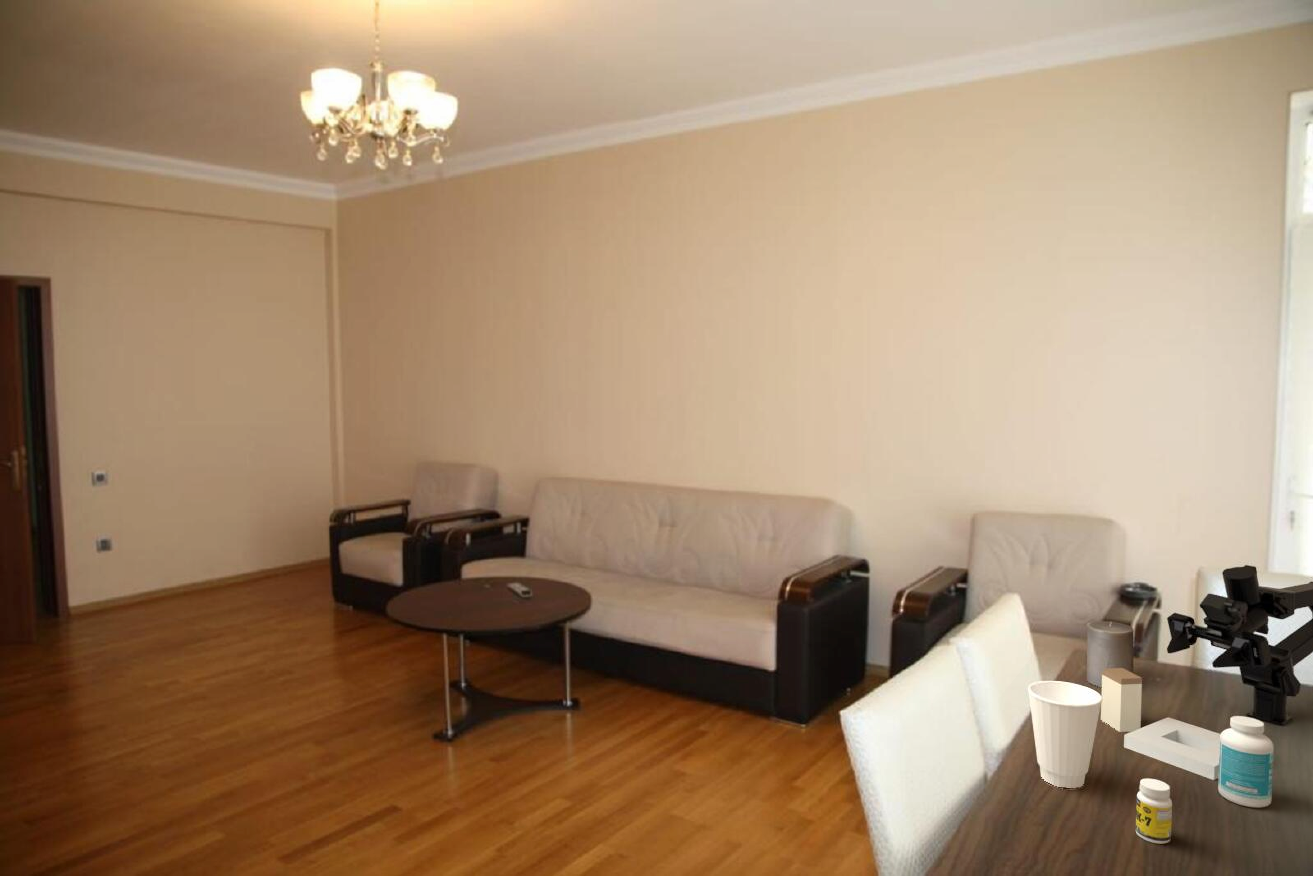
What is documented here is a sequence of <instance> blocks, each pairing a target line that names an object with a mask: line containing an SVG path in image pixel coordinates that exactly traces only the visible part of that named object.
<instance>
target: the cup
mask: <svg viewBox="0 0 1313 876" xmlns="http://www.w3.org/2000/svg"><path fill="white" fill-rule="evenodd" d="M1027 692H1028V695H1029V696H1028V697H1029V704H1030V712H1031V721H1032V729H1033V736H1034V744H1035V752H1036V753H1035V754H1036V760H1037V761H1036V762H1037V764H1038V766H1039V771H1040V777H1042V778H1041V780H1042V779H1044V781H1046V782H1048V783H1050V784H1052V785H1054V786H1053V787H1055V786H1057V787H1056V788H1058V787H1066V788H1076V787H1081V786H1083V787H1084V785H1085V778H1086V774H1087V773H1088V772H1089V768H1090V762H1091V757H1092V753H1093V747H1094V741H1095V739H1096V738H1095V737H1096V733H1097V731H1096V730H1097V726H1098V721H1099V717H1100V713H1101V702H1102V697H1101V695H1102V694H1101V693H1099V692H1097V691H1096V690H1094V689H1092V688H1090V687H1087V686H1083V685H1081V684H1076V683H1073V682H1067V681H1058V680H1041V681H1035V682H1033V683H1031V684H1029V686H1028V687H1027ZM1044 781H1043V782H1044ZM1046 782H1045V783H1046ZM1048 783H1047V784H1048ZM1050 784H1049V785H1050ZM1083 784H1084V785H1083ZM1052 785H1051V786H1052ZM1081 788H1082V787H1081Z"/></svg>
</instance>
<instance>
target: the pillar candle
mask: <svg viewBox="0 0 1313 876" xmlns="http://www.w3.org/2000/svg"><path fill="white" fill-rule="evenodd" d="M1086 626H1087V632H1086V633H1087V636H1086V637H1087V638H1086V639H1087V641H1086V642H1087V643H1086V682H1087V681H1088V682H1089V683H1088V682H1087V683H1088V684H1090V683H1091V684H1090V685H1093V686H1095V685H1096V686H1095V687H1097V686H1098V687H1097V688H1099V687H1102V669H1111V668H1123V669H1125V670H1127V671H1129V672H1131V673H1133V674H1134V653H1135V652H1134V645H1135V644H1134V641H1135V640H1134V639H1135V637H1134V632H1135V631H1134V630H1135V629H1134V628H1133V627H1132V626H1130V625H1128V624H1125V623H1121V622H1116V621H1109V620H1108V621H1105V620H1097V621H1090V622H1088V623H1086Z"/></svg>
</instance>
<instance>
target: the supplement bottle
mask: <svg viewBox="0 0 1313 876" xmlns="http://www.w3.org/2000/svg"><path fill="white" fill-rule="evenodd" d="M1138 789H1139V791H1138V792H1137V794H1136V804H1135V805H1136V808H1135V809H1136V810H1135V832H1136V835H1137V836H1138V837H1140V838H1141V839H1143V840H1145V841H1147V842H1149V843H1153V844H1161V845H1162V844H1163V845H1164V844H1167V843H1169V842H1170V841H1171V838H1172V819H1173V818H1172V817H1173V816H1172V815H1173V801H1172V799H1171V797H1170V796H1171V787H1170V784H1167V783H1166V782H1164V781H1162V780H1159V779H1154V778H1142V779H1140V782H1139V788H1138Z"/></svg>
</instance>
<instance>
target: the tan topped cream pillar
mask: <svg viewBox="0 0 1313 876" xmlns="http://www.w3.org/2000/svg"><path fill="white" fill-rule="evenodd" d="M1142 690H1143V677H1141V676H1140V675H1137V674H1136V673H1134V672H1133V673H1131V672H1129V671H1127V670H1125V669H1123V668H1111V669H1102V688H1101V694H1100V695H1101V697H1102V702H1101V707H1100V721H1101V720H1102V721H1101V722H1103V723H1104V722H1105V723H1104V724H1106V723H1107V724H1106V725H1108V724H1109V725H1110V727H1111V728H1113V729H1114V728H1115V729H1114V730H1115V731H1117V732H1119V733H1125V732H1126V733H1127V732H1128V733H1130V732H1132V731H1135V730H1137V729H1140V728H1142V727H1141V725H1142V723H1141V721H1142V694H1143V693H1142V692H1143V691H1142ZM1109 725H1108V726H1109Z"/></svg>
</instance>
